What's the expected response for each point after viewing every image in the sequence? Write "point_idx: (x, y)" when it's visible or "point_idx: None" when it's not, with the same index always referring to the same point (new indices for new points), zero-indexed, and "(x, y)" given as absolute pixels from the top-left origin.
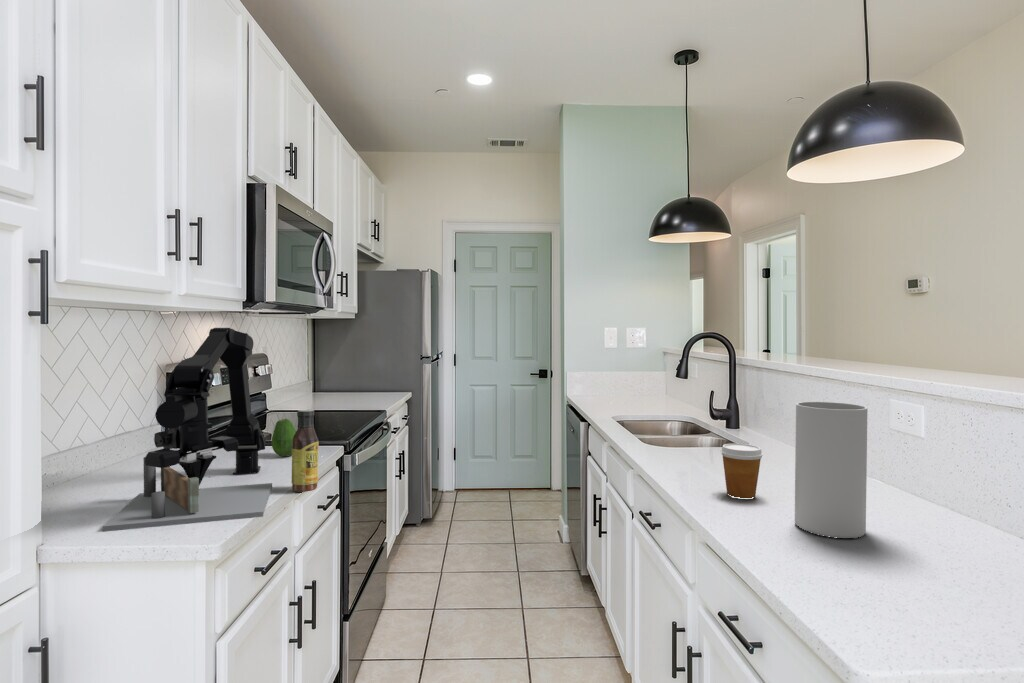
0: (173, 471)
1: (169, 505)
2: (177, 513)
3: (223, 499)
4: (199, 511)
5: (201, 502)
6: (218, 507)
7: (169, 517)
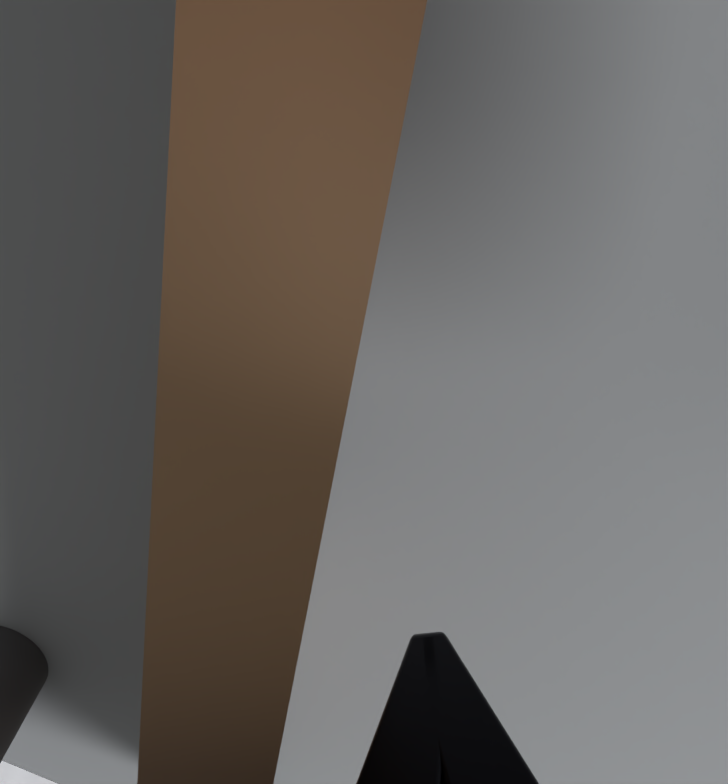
0: (255, 397)
1: None
2: None
3: (612, 639)
4: (288, 761)
5: (442, 576)
6: None
7: (62, 731)
